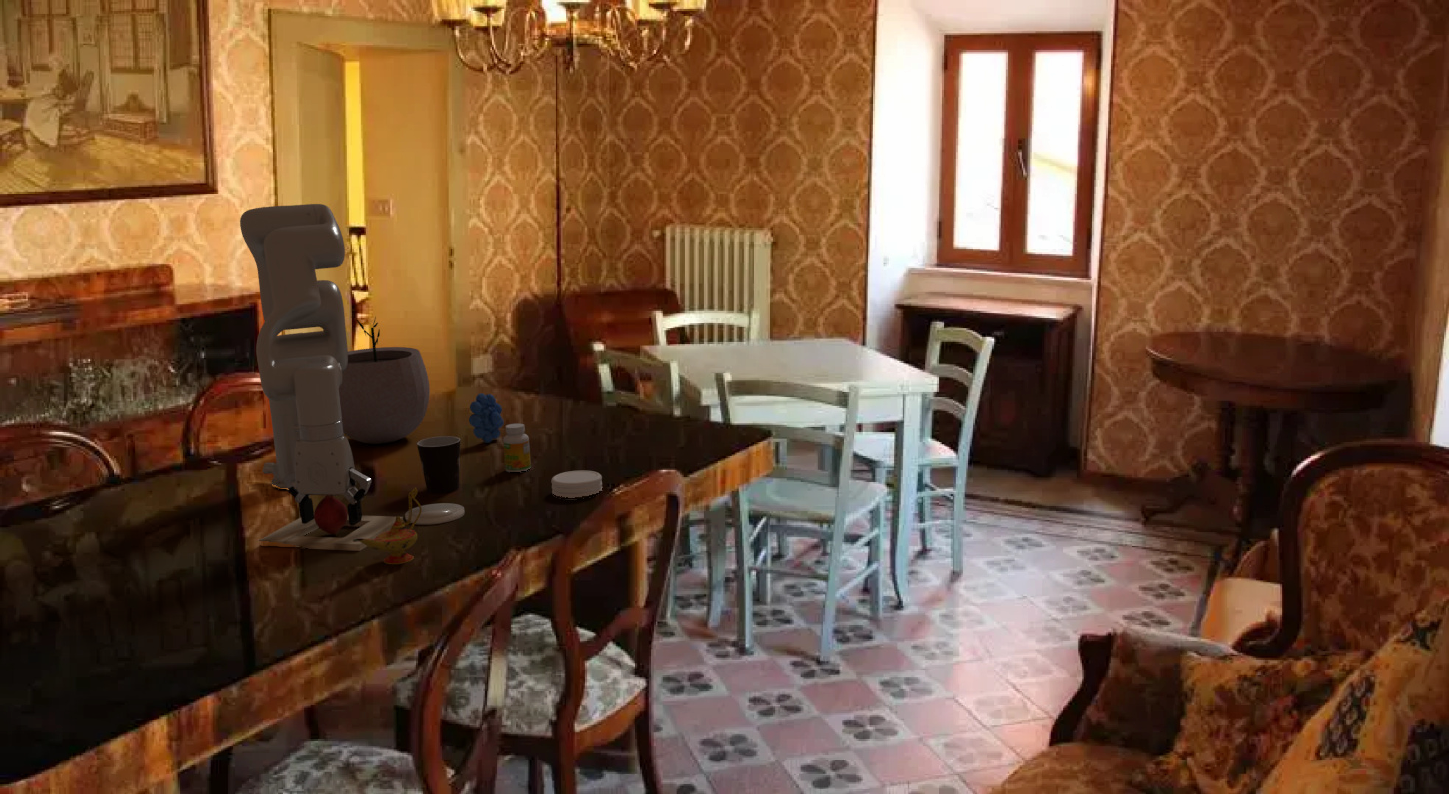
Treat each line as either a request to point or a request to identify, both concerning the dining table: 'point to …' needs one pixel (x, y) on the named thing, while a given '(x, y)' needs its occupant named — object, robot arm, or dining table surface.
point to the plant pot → (383, 393)
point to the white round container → (576, 483)
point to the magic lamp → (396, 538)
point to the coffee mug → (440, 463)
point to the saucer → (436, 513)
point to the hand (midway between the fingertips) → (331, 522)
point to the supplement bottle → (516, 449)
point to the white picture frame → (367, 530)
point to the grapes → (486, 417)
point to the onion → (330, 515)
